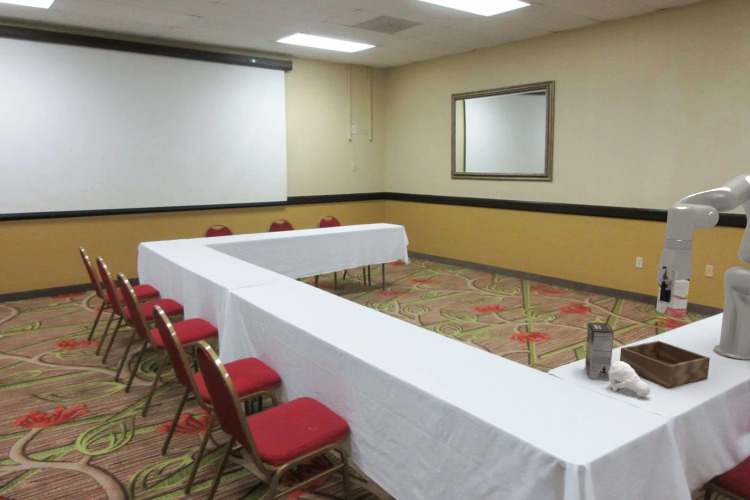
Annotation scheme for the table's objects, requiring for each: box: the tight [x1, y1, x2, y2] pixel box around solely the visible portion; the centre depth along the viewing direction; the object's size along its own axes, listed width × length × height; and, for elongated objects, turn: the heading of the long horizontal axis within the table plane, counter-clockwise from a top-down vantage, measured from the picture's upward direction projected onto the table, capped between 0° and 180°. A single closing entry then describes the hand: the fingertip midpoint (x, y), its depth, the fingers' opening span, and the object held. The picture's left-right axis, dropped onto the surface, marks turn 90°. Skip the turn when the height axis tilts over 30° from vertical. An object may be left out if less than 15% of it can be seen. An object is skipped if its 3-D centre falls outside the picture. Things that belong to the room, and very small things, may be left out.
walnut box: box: [619, 340, 711, 390], centre depth 173 cm, size 18×18×7 cm
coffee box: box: [584, 322, 615, 381], centre depth 171 cm, size 9×6×16 cm
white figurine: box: [608, 360, 651, 399], centre depth 159 cm, size 6×8×12 cm
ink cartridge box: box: [655, 271, 691, 318], centre depth 171 cm, size 9×5×15 cm, turn 5°
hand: (672, 299), depth 171 cm, fingers closed on ink cartridge box, 6 cm apart
